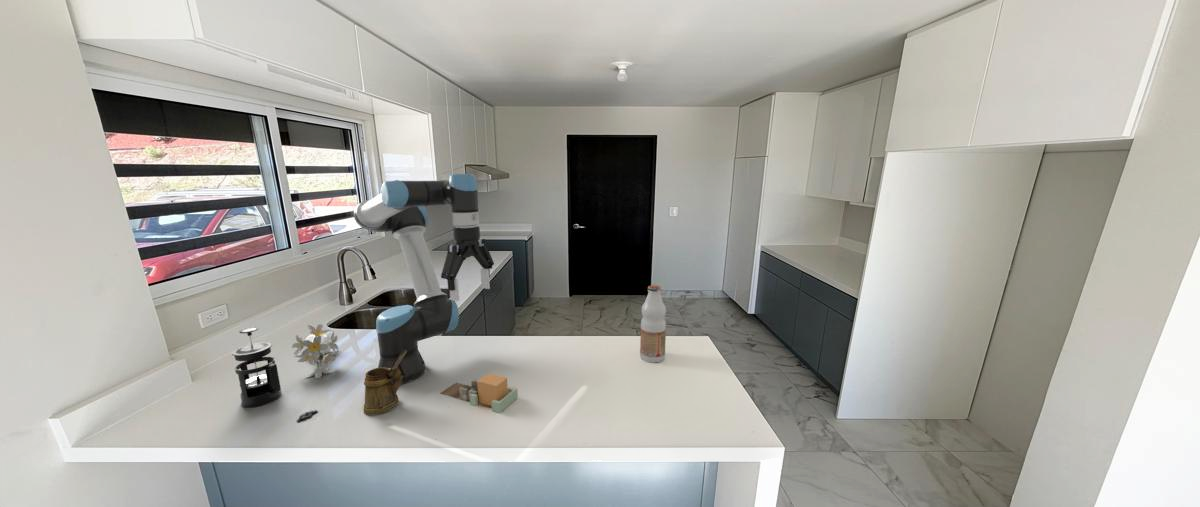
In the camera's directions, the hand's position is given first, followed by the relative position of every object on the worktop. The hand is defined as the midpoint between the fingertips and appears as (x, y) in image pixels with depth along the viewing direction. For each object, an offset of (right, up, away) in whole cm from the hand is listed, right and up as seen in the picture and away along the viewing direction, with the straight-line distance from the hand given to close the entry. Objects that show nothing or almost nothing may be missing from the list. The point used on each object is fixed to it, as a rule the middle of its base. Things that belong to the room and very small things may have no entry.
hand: (471, 294), depth 117 cm
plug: (+5, -32, -2) cm, 32 cm away
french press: (-64, -33, -1) cm, 72 cm away
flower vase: (-63, -28, +21) cm, 72 cm away
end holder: (+8, -32, -3) cm, 33 cm away
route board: (+2, -32, -1) cm, 33 cm away
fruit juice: (+60, -27, +26) cm, 71 cm away
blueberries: (-44, -35, -10) cm, 57 cm away
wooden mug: (-23, -33, -4) cm, 41 cm away
